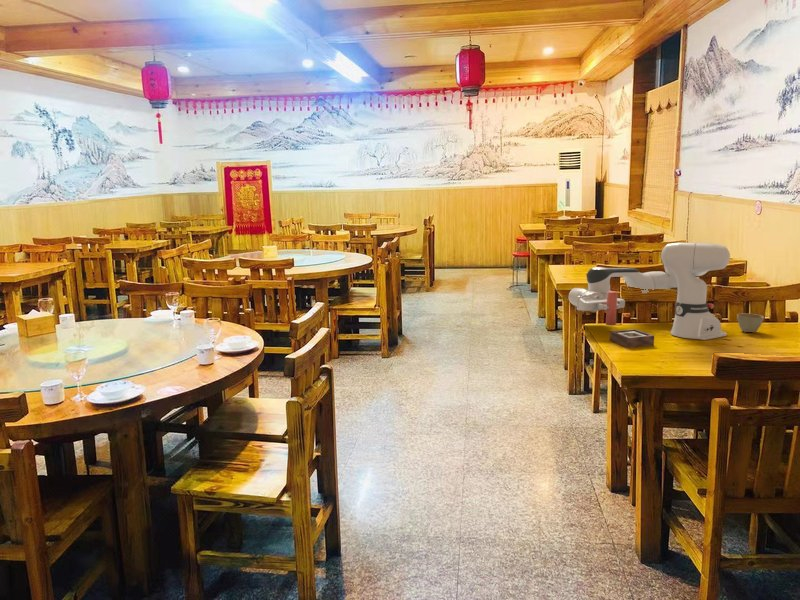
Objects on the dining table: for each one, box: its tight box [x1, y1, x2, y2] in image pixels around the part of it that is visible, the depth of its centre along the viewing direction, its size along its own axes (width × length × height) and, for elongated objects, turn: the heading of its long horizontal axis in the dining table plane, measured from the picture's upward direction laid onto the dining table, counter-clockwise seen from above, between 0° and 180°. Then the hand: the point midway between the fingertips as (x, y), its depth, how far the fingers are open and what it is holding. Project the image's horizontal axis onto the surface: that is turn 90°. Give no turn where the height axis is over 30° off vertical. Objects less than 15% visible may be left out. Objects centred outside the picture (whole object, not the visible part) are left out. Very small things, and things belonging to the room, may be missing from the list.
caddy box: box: [609, 328, 655, 349], centre depth 254 cm, size 12×12×4 cm
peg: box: [605, 290, 618, 326], centre depth 267 cm, size 4×4×14 cm
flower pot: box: [736, 312, 765, 333], centre depth 270 cm, size 10×10×7 cm
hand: (612, 307), depth 266 cm, fingers closed on peg, 4 cm apart
